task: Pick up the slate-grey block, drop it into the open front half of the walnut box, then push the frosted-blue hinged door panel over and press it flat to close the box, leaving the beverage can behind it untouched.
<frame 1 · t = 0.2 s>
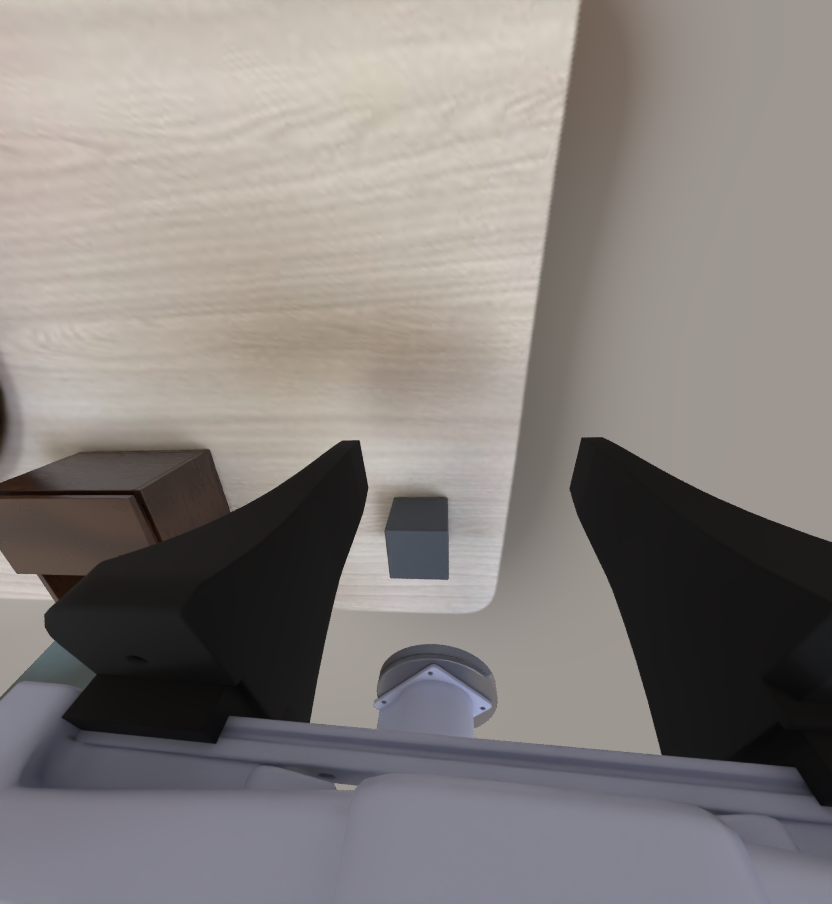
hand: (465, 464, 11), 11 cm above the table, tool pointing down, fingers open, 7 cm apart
block: (421, 519, 25), on the table
box: (170, 516, 27), on the table
door: (92, 684, 21), point 9 cm above the table, hinge at 100.0°
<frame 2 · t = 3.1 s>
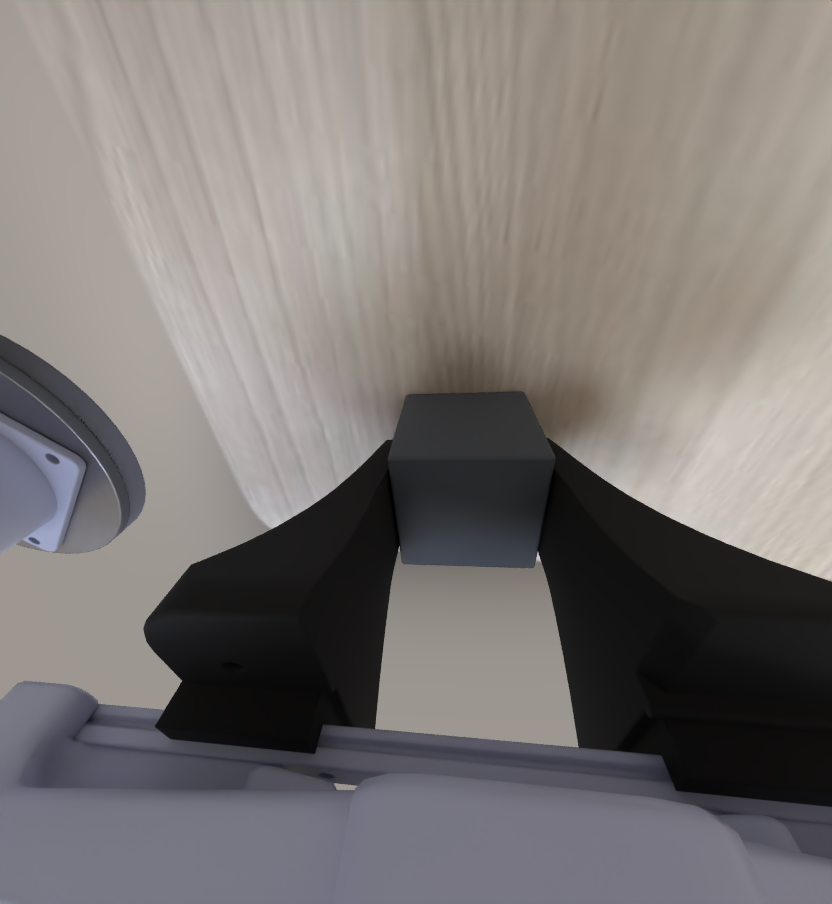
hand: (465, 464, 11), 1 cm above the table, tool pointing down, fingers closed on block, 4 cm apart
block: (463, 442, 12), on the table, touching gripper
when the fingers open (7 cm above the table, at t = 10.5 s): block drops 6 cm, resting on box.
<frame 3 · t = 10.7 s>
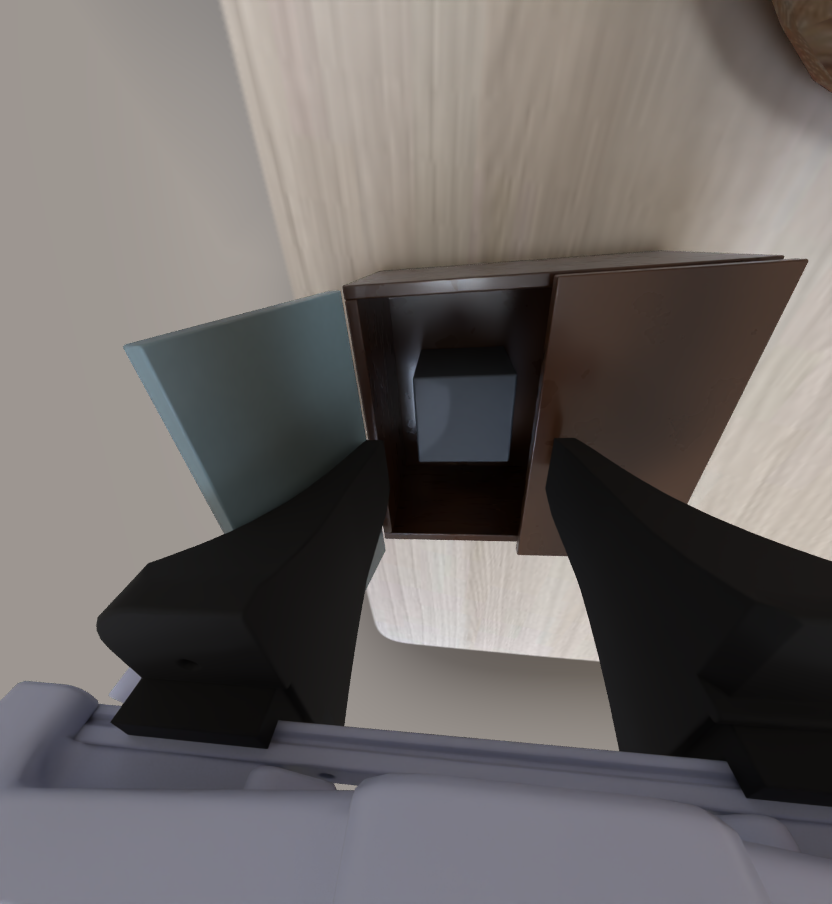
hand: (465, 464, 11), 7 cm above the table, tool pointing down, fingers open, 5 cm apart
block: (461, 386, 17), resting on box
box: (503, 381, 17), on the table
door: (322, 501, 10), point 9 cm above the table, hinge at 102.9°, touching gripper
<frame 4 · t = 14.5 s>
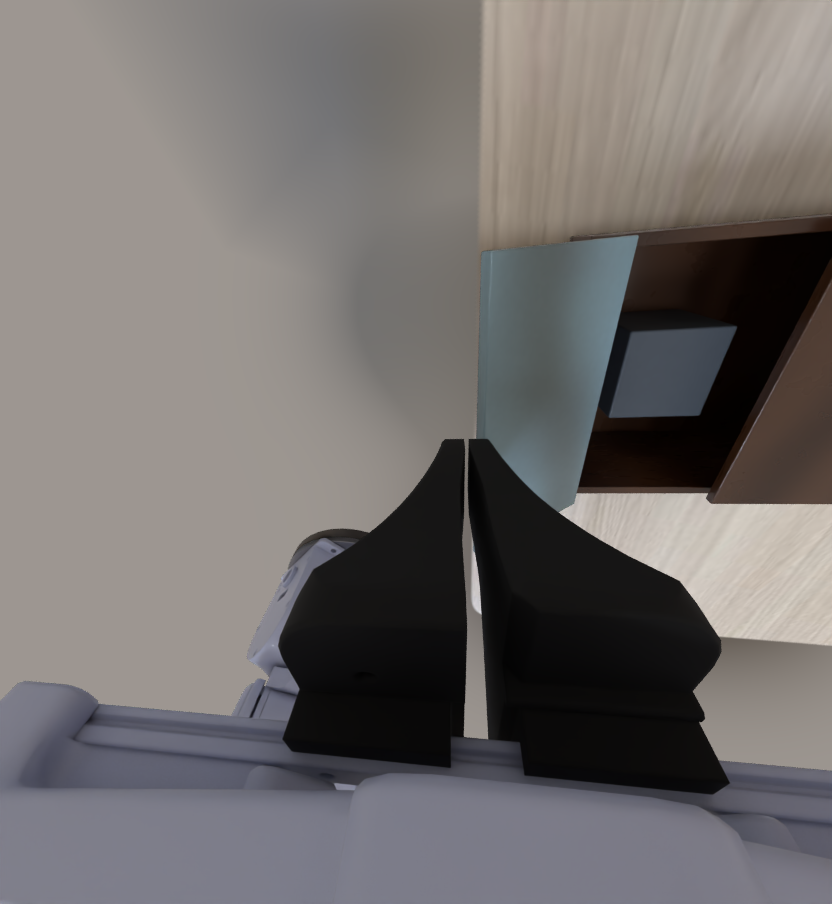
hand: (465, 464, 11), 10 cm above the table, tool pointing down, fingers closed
block: (626, 350, 18), resting on box
box: (666, 345, 18), on the table
door: (542, 418, 12), point 8 cm above the table, hinge at 145.2°, touching gripper
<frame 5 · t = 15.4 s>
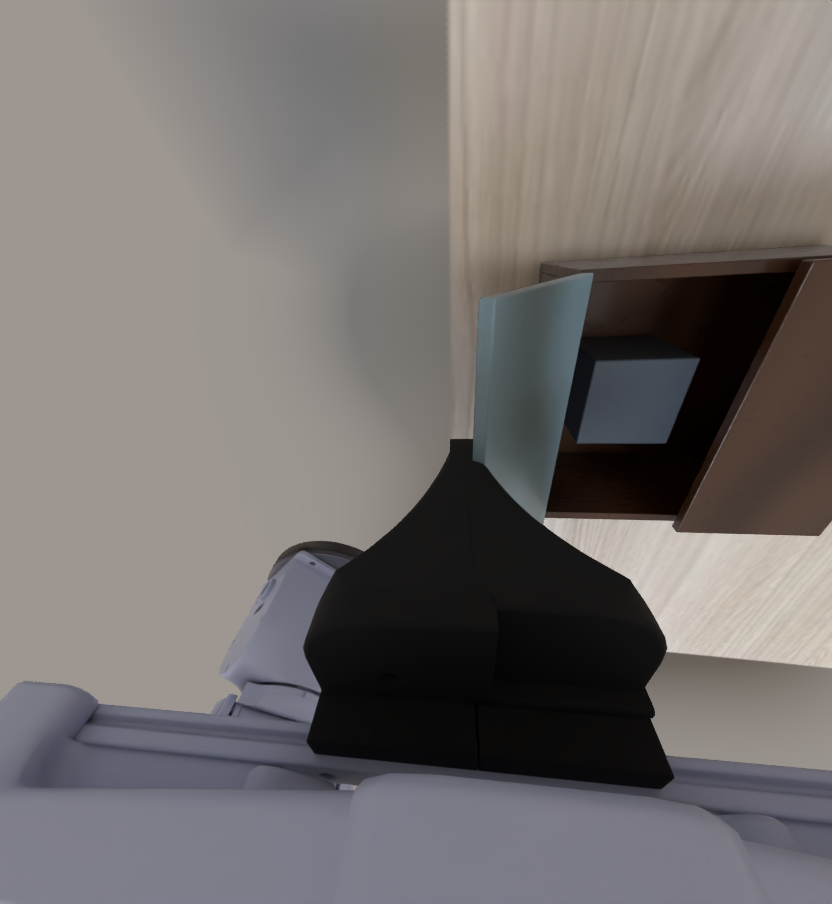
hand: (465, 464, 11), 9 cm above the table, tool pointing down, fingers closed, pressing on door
block: (598, 374, 18), resting on box
box: (639, 370, 18), on the table
door: (523, 459, 11), point 9 cm above the table, hinge at 126.6°, touching gripper
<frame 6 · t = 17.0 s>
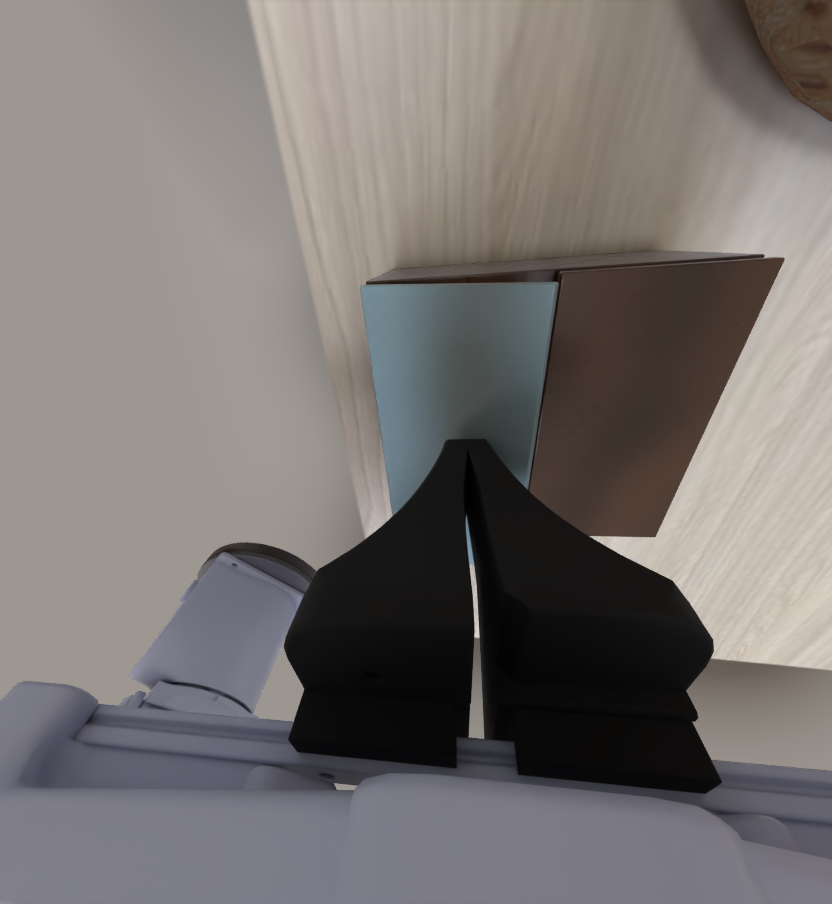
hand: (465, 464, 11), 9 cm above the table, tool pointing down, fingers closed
box: (509, 374, 18), on the table
door: (448, 450, 12), point 8 cm above the table, hinge at 26.0°, touching gripper
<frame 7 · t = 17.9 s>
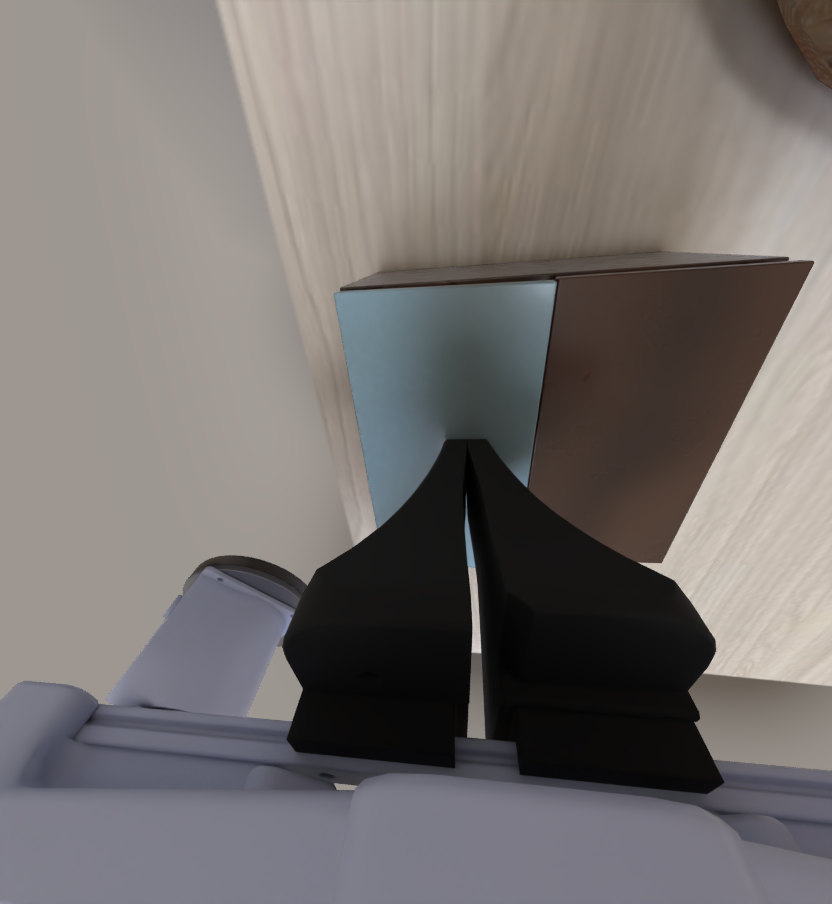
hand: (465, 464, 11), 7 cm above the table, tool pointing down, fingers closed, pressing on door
box: (503, 383, 17), on the table
door: (443, 458, 11), point 7 cm above the table, hinge at 6.9°, touching gripper
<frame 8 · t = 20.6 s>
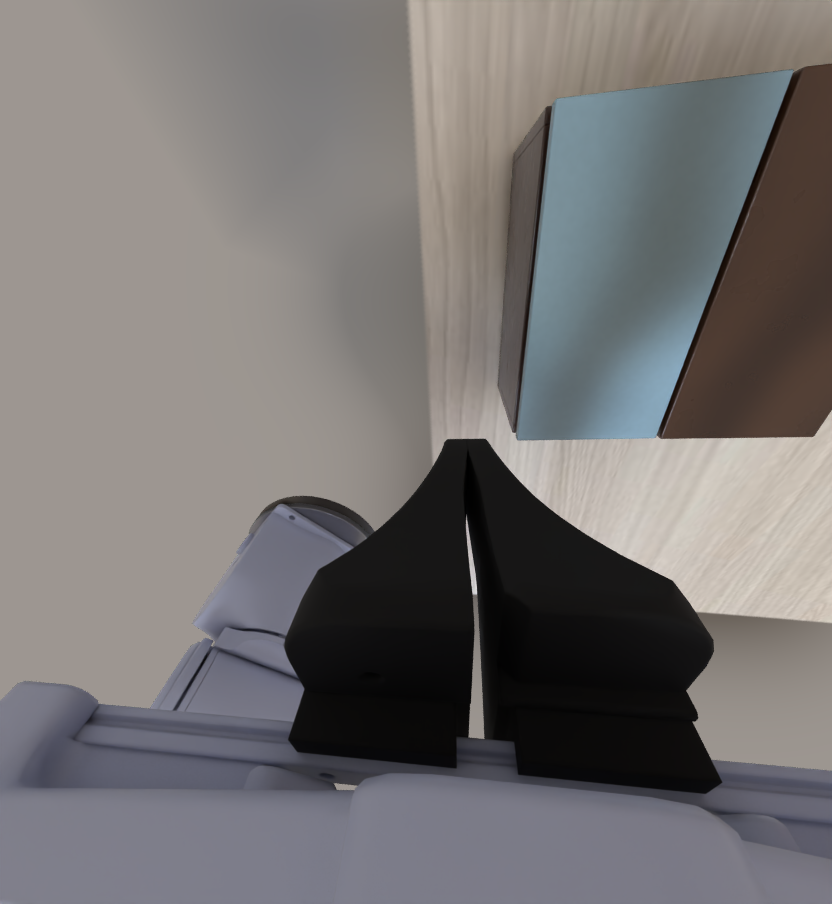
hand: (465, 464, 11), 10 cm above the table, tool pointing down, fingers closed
box: (623, 281, 17), on the table
door: (614, 305, 11), point 6 cm above the table, hinge at -0.5°
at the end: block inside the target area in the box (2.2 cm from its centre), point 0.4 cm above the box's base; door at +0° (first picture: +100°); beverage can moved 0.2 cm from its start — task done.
